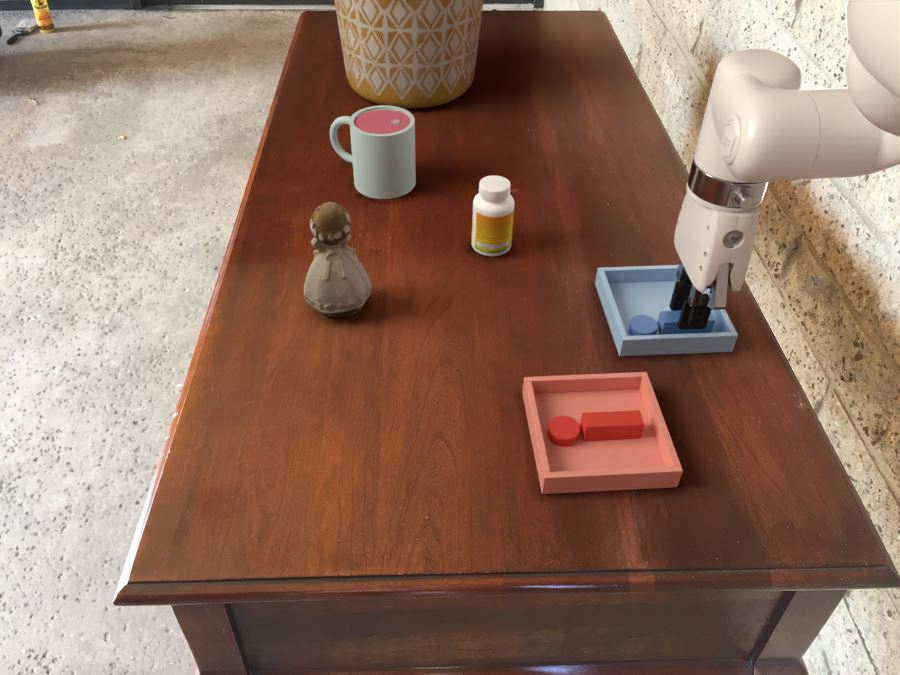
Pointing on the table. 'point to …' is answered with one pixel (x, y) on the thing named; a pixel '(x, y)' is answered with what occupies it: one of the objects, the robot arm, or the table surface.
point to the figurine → (335, 266)
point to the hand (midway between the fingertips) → (687, 317)
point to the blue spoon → (664, 324)
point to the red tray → (602, 459)
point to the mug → (380, 150)
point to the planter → (409, 49)
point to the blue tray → (654, 312)
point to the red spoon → (596, 427)
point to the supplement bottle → (492, 217)
